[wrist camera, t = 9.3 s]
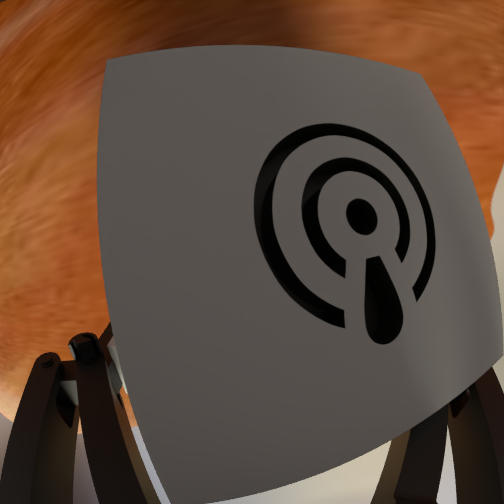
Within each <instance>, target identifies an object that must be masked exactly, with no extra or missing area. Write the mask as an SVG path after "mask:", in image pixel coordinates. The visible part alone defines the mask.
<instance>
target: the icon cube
mask: <svg viewBox="0 0 504 504" xmlns="http://www.w3.org/2000/svg"><path fill="white" fill-rule="evenodd" d="M97 204H98V225H99V239H100V251H101V260H102V269H103V277H104V285H105V292H106V298H107V304H108V310H109V316H110V321H111V326H112V332H113V336H114V341H115V346H116V350H117V354H118V359H119V363H120V367H121V371H122V374H123V378H124V382H125V385H126V389H127V392H128V396H129V399H130V402H131V406H132V409H133V412H134V415H135V418H136V421H137V424H138V427H139V429H140V432H141V435H142V438H143V441H144V443H145V446H146V449H147V451H148V453H149V456H150V459H151V461H152V463H153V466H154V468H155V470H156V473H157V475H158V477H159V479H160V482H161V484H162V486H163V488H164V490H165V492H166V495H167V497H168V499H169V500H170V503H171V504H206V503H213V502H219V501H225V500H230V499H235V498H240V497H244V496H249V495H253V494H257V493H261V492H265V491H268V490H272V489H276V488H279V487H282V486H286V485H289V484H292V483H295V482H298V481H301V480H304V479H306V478H309V477H312V476H315V475H317V474H320V473H323V472H325V471H328V470H330V469H332V468H335V467H337V466H340V465H342V464H344V463H346V462H348V461H351V460H353V459H355V458H357V457H359V456H362V455H364V454H365V453H367V452H370V451H372V450H373V449H375V448H377V447H379V446H381V445H383V444H385V443H387V442H388V441H390V440H392V439H394V438H396V437H397V436H399V435H401V434H402V433H404V432H406V431H407V430H409V429H411V428H412V427H414V426H415V425H417V424H419V423H420V422H422V421H423V420H425V419H426V418H428V417H429V416H431V415H432V414H433V413H435V412H436V411H438V410H439V409H441V408H442V407H443V406H445V405H446V404H447V403H449V402H450V401H451V400H453V399H454V398H455V397H457V396H458V395H459V394H460V393H462V392H463V391H464V390H465V389H467V388H468V387H469V386H470V385H471V384H473V383H474V382H475V381H476V380H477V379H478V378H480V377H481V376H482V375H483V374H484V373H485V372H486V371H487V370H489V369H490V368H491V367H492V366H493V365H494V364H495V363H496V362H497V361H498V360H499V359H500V358H501V357H502V356H503V328H502V314H501V303H500V295H499V287H498V280H497V274H496V268H495V262H494V257H493V252H492V247H491V243H490V239H489V234H488V230H487V226H486V223H485V219H484V215H483V212H482V209H481V205H480V202H479V199H478V196H477V193H476V190H475V187H474V184H473V181H472V178H471V175H470V173H469V170H468V167H467V165H466V162H465V160H464V157H463V155H462V153H461V150H460V148H459V146H458V143H457V141H456V139H455V137H454V135H453V132H452V130H451V128H450V126H449V124H448V122H447V120H446V118H445V116H444V114H443V112H442V110H441V108H440V107H439V105H438V103H437V101H436V99H435V97H434V96H433V94H432V92H431V90H430V89H429V87H428V85H427V84H426V82H425V80H424V79H423V77H422V76H421V74H419V73H416V72H412V71H409V70H406V69H403V68H399V67H396V66H392V65H388V64H385V63H381V62H377V61H372V60H368V59H364V58H359V57H354V56H349V55H344V54H338V53H332V52H326V51H319V50H311V49H303V48H293V47H281V46H264V45H212V46H195V47H183V48H173V49H165V50H157V51H150V52H144V53H138V54H132V55H127V56H122V57H117V58H113V59H108V60H107V62H106V68H105V75H104V82H103V89H102V98H101V107H100V118H99V132H98V152H97Z"/></svg>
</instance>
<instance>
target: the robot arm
mask: <svg viewBox="0 0 504 504" xmlns="http://www.w3.org/2000/svg"><path fill="white" fill-rule="evenodd" d="M1 1H5V0H0V2H1ZM68 346H69V349H70V351H71V353H72V356H73V358H74V360H71V361H61V359H60V357H59V355H58V354H56V353H53V352H48V353H44V354H42V355H41V356H39V357H38V358H37V359H36V361H35V363H34V365H33V368H32V370H31V373H30V376H29V378H28V381H27V384H26V386H25V389H24V392H23V395H22V398H21V401H20V404H19V407H18V410H17V413H16V416H15V419H14V423H13V426H12V430H11V434H10V437H9V441H8V446H7V450H6V454H5V459H4V464H3V469H2V474H1V480H0V504H73V478H74V461H75V449H76V440H77V432H78V424H79V417H80V420H81V426H82V433H83V438H84V444H85V449H86V454H87V458H88V463H89V467H90V472H91V476H92V480H93V483H94V487H95V491H96V494H97V498H98V501H99V504H161V502H160V500H159V498H158V496H157V494H156V491H155V489H154V487H153V485H152V482H151V480H150V478H149V475H148V473H147V470H146V468H145V465H144V463H143V461H142V458H141V455H140V452H139V450H138V447H137V444H136V441H135V438H134V436H133V433H132V430H131V426H130V423H129V420H128V417H127V414H126V410H125V407H124V403H123V400H122V397H121V395H120V392H119V391H120V389H121V387H122V385H123V387H124V390H125V392H126V394H128V392H127V389H126V385H125V382H124V378H123V374H122V371H121V367H120V363H119V359H118V354H117V350H116V346H115V341H114V336H113V332H112V326H111V322H110V323H109V324H108V326H107V328H106V329H105V330H104V333H102V335H101V336H100V338H99V339H98V338H97V336H96V335H95V334H93V333H89V332H87V333H81V334H78V335H76V336H74V337H73V338H72V339H71V340H70V341H69V344H68ZM447 425H448V428H449V434H450V440H451V447H452V454H453V461H454V470H455V479H456V493H457V494H456V495H457V504H504V393H503V390H502V388H501V385H500V383H499V381H498V378H497V376H496V374H495V372H494V369H493V367H491V368H490V369H489V370H487V371H486V372H485V373H484V374H483V375H482V376H481V377H480V378H478V379H477V380H476V381H475V382H474V383H473V384H471V385H470V386H469V387H468V388H467V389H465V390H464V391H463V392H462V393H460V394H459V395H458V396H457V397H455V398H454V399H453V400H451V401H450V402H449V403H447V404H446V405H445V406H443V407H442V408H441V409H439V410H438V411H436V412H435V413H433V414H432V415H431V416H429V417H428V418H426V419H425V420H423V421H422V422H420V423H419V424H417V425H415V426H414V427H412V428H411V429H409V430H407V431H406V432H404V433H402V434H401V435H399V436H397V437H396V438H394V439H392V441H391V445H390V448H389V452H388V455H387V459H386V462H385V465H384V468H383V471H382V474H381V477H380V480H379V483H378V485H377V488H376V491H375V493H374V496H373V498H372V501H371V503H370V504H438V503H437V501H436V498H437V493H438V489H439V484H440V479H441V472H442V467H443V460H444V454H445V446H446V436H447Z"/></svg>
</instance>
